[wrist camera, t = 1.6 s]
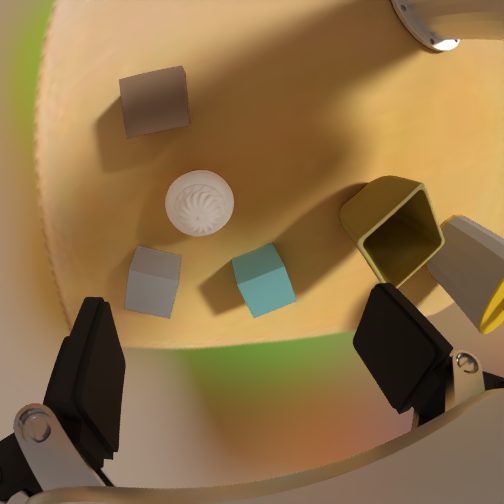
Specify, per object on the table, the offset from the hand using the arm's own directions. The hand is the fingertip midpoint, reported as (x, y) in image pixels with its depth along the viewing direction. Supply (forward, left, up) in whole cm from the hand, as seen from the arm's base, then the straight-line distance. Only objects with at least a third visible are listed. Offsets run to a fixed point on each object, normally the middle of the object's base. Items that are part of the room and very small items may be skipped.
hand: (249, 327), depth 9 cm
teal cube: (+11, +6, -21) cm, 24 cm away
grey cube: (+11, -6, -21) cm, 24 cm away
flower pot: (+3, +18, -21) cm, 27 cm away
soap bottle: (+8, +38, -21) cm, 44 cm away
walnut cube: (-7, -5, -21) cm, 23 cm away
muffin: (+2, -1, -21) cm, 21 cm away
